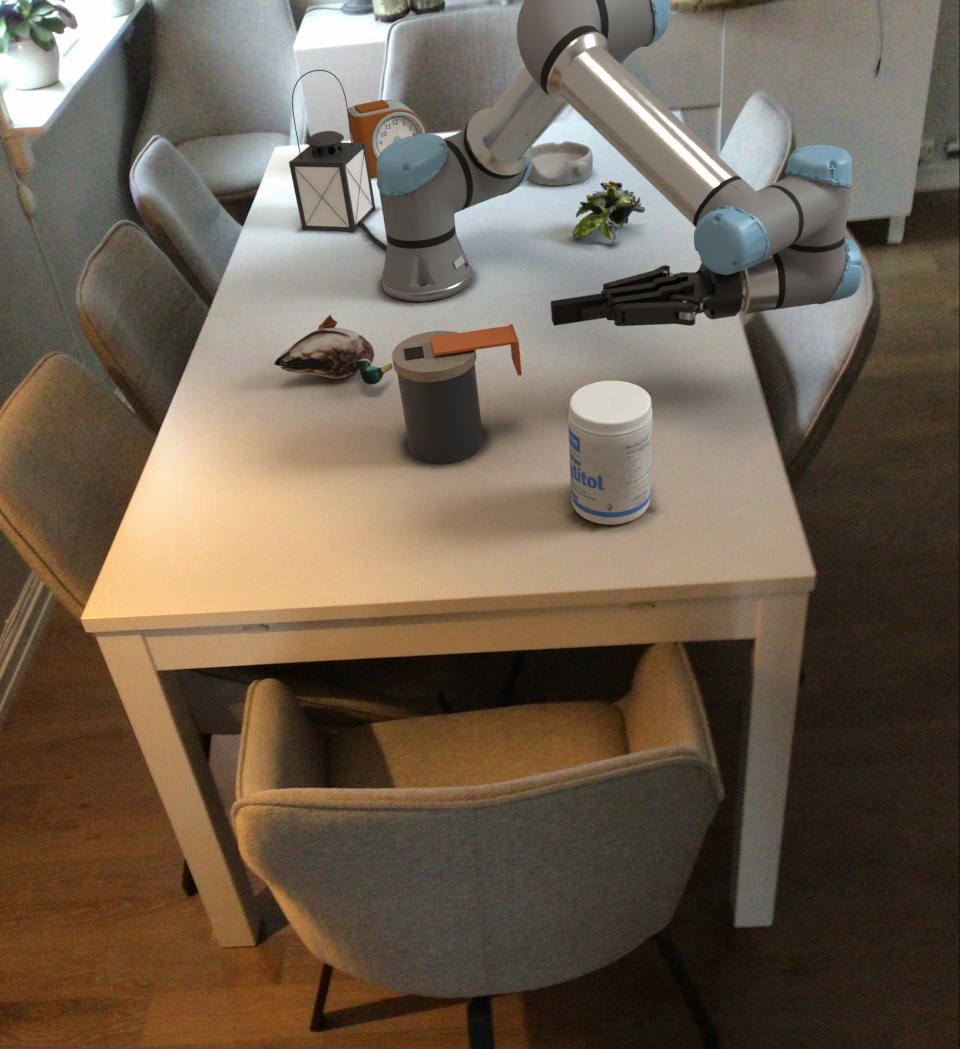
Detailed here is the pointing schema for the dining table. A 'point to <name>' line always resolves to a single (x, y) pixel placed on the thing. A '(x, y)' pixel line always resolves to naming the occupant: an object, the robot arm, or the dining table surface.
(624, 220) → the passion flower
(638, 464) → the supplement tub
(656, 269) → the robot arm
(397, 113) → the alarm clock
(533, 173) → the dish
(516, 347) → the lid slider
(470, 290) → the dining table surface
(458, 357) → the travel mug
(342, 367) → the decorative duck model
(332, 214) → the lantern
